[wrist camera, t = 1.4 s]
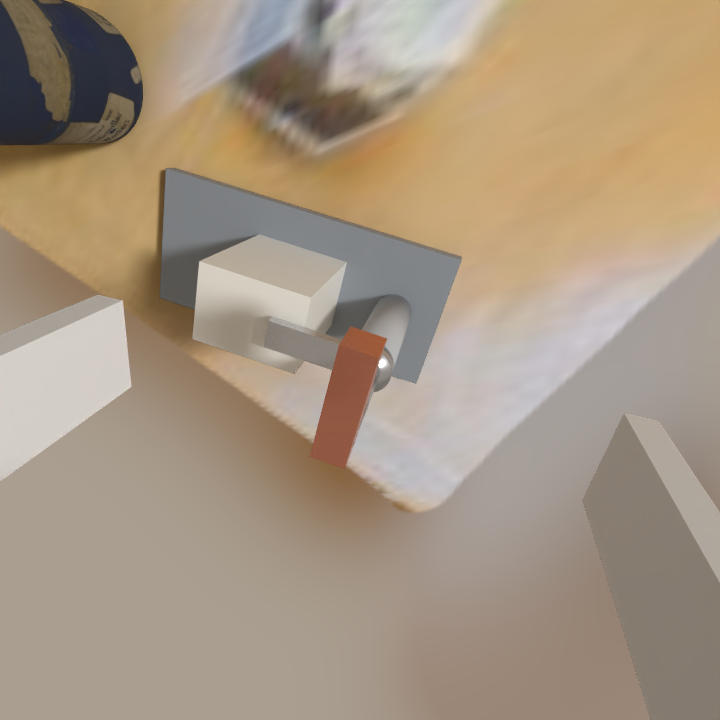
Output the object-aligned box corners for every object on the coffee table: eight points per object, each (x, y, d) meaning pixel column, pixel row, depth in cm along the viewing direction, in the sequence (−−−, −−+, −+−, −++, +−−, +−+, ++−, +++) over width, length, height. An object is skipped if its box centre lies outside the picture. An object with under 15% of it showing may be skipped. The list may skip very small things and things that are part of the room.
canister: (42, -1, 37) (-285, -109, 21) (151, 22, 36) (-105, -72, 20) (55, 131, 41) (-207, 126, 25) (153, 155, 40) (-56, 165, 24)
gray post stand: (166, 294, 46) (81, 337, 36) (173, 167, 40) (74, 176, 30) (417, 377, 44) (401, 448, 34) (461, 257, 38) (458, 298, 28)
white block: (250, 298, 43) (192, 339, 34) (259, 234, 40) (199, 261, 31) (331, 324, 42) (294, 373, 33) (347, 262, 39) (311, 297, 30)
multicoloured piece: (266, 349, 32) (190, 428, 23) (284, 250, 29) (202, 299, 20) (386, 390, 32) (353, 486, 23) (418, 293, 28) (394, 363, 19)
